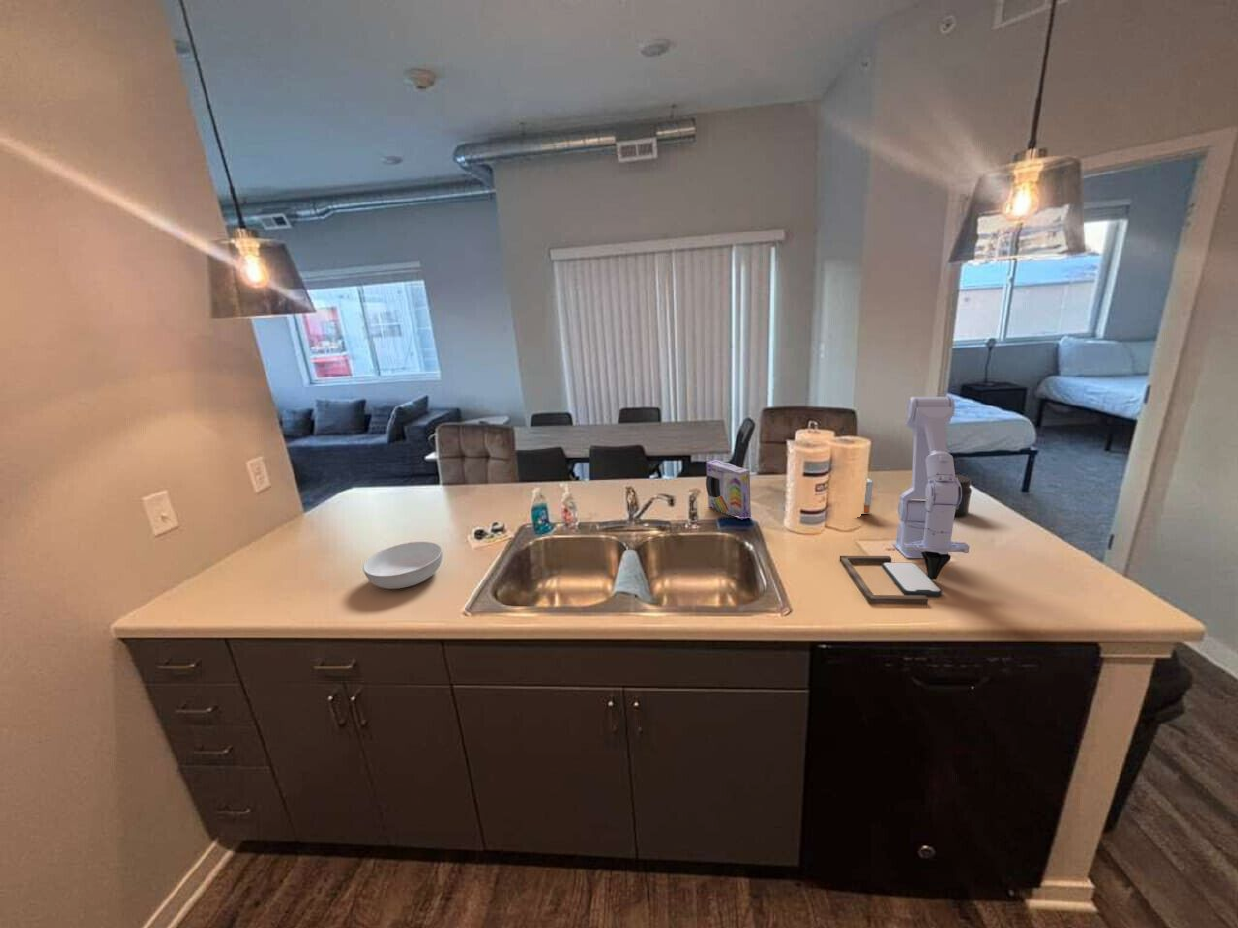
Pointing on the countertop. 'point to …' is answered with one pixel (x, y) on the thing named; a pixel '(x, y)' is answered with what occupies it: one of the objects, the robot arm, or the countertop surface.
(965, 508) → the supplement container
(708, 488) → the cake pan box
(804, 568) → the countertop surface
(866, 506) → the skincare box
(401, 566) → the serving bowl
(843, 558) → the walnut frame
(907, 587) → the dark grey smartphone
